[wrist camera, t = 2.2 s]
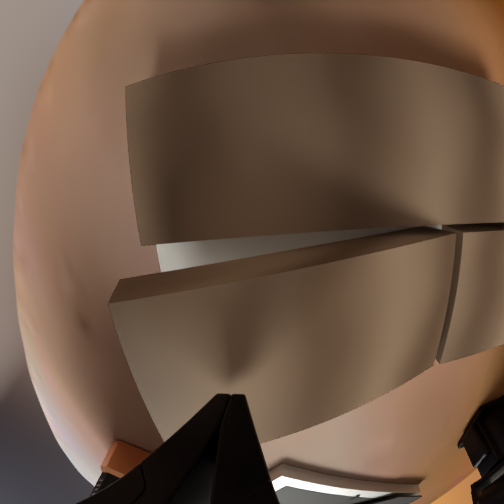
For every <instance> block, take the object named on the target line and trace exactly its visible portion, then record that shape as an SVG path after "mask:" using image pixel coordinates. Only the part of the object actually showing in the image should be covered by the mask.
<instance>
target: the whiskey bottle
mask: <svg viewBox="0 0 504 504" xmlns="http://www.w3.org/2000/svg"><path fill="white" fill-rule="evenodd" d="M150 454H151V453H150V452H147V451H145V450H142V449H139V448H137V447H134V446H132V445H130V444H127V443H125V442H122V441H120V440H118V441H113V443H112V445H111V447H110V449H109V451H108V453H107V455H106V457H105V459H104V460H103V462H102V464H101V470H102V474H101V476H100V478H99V479H98V481H97V483H96V485H95V487H94V489H93V491H92V493H91V495H90V496H92V495H93V494H95V493H97V492H99V491H101V490H102V489H104V488H106V487H107V486H109V485H111V484H112V483H114V482H115V481H117V480H118V479H120V478H121V477H122V476H124V475H125V474H127V473H128V472H129V471H131V470H132V469H133V468H134V467H135V466H137V465H138V464H141V462H142V461H143V460H144V459H145V458H147V457H148V456H149V455H150Z"/></svg>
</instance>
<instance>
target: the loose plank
mask: <svg viewBox="0 0 504 504" xmlns="http://www.w3.org/2000/svg"><path fill="white" fill-rule="evenodd" d="M455 243H456V233H453V232H449V231H445V230H441V229H437V228H432V227H428V226H420V227H415V228H409V229H404V230H398V231H393V232H387V233H382V234H376V235H371V236H365V237H360V238H354V239H349V240H343V241H337V242H332V243H326V244H321V245H315V246H309V247H304V248H298V249H293V250H287V251H281V252H276V253H270V254H264V255H259V256H253V257H247V258H242V259H236V260H230V261H224V262H219V263H213V264H207V265H201V266H196V267H190V268H184V269H178V270H172V271H167V272H161V273H155V274H149V275H143V276H137V277H131V278H126V279H120V280H119V282H118V284H117V286H116V288H115V290H114V292H113V294H112V296H111V298H110V300H109V302H108V307H109V310H110V313H111V317H112V320H113V323H114V326H115V329H116V332H117V335H118V338H119V341H120V344H121V346H122V349H123V352H124V355H125V357H126V360H127V363H128V365H129V368H130V370H131V373H132V375H133V378H134V380H135V382H136V385H137V387H138V389H139V392H140V394H141V396H142V398H143V401H144V403H145V405H146V407H147V409H148V411H149V413H150V415H151V418H152V420H153V422H154V424H155V426H156V428H157V429H158V431H159V433H160V435H161V437H162V439H163V441H164V442H165V441H166V440H167V439H169V438H170V437H171V436H172V435H173V434H174V433H175V432H176V431H178V430H179V429H180V428H181V427H182V426H183V425H184V424H185V423H186V422H187V421H188V420H190V419H191V418H192V417H193V416H194V415H195V414H196V413H197V412H198V411H199V410H200V409H201V408H202V407H203V406H204V405H205V404H206V403H207V402H208V401H210V400H211V399H212V398H213V397H214V396H215V395H216V394H218V393H226V394H231V395H232V394H245V395H246V398H247V402H248V405H249V409H250V412H251V416H252V419H253V423H254V426H255V429H256V433H257V436H258V439H259V443H263V442H267V441H270V440H274V439H277V438H280V437H284V436H287V435H290V434H293V433H296V432H299V431H301V430H304V429H307V428H310V427H312V426H315V425H318V424H320V423H323V422H325V421H328V420H330V419H333V418H335V417H338V416H340V415H342V414H345V413H347V412H349V411H351V410H353V409H356V408H358V407H360V406H362V405H364V404H366V403H368V402H370V401H372V400H374V399H376V398H378V397H380V396H382V395H384V394H386V393H388V392H390V391H391V390H393V389H395V388H397V387H399V386H400V385H402V384H404V383H406V382H407V381H409V380H411V379H412V378H414V377H416V376H417V375H419V374H421V373H422V372H424V371H425V370H427V369H429V368H430V367H432V366H433V364H434V361H435V357H436V353H437V350H438V346H439V342H440V338H441V334H442V330H443V325H444V320H445V316H446V311H447V305H448V300H449V294H450V287H451V281H452V273H453V265H454V255H455Z"/></svg>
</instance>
